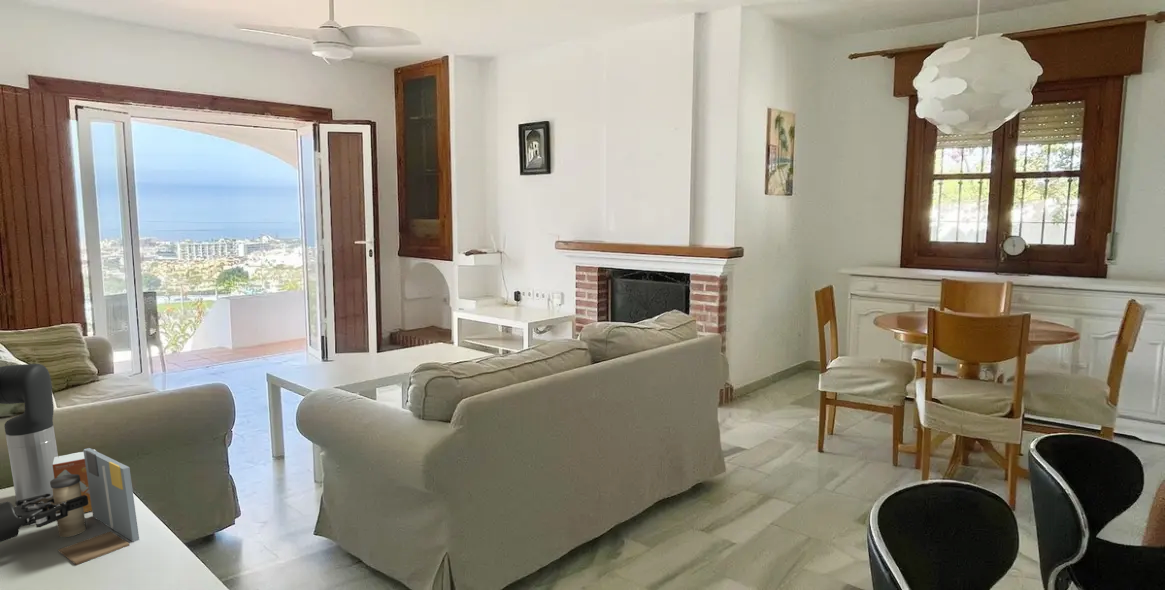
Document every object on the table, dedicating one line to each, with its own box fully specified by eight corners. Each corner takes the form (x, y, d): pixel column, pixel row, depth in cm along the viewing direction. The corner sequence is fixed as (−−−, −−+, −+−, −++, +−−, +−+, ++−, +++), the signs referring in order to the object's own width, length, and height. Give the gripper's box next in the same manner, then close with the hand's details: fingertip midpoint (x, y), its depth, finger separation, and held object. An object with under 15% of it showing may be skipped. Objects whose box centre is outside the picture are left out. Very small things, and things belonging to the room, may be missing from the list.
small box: (59, 519, 160) (51, 464, 159) (61, 509, 166) (53, 456, 164) (102, 509, 165) (94, 456, 163) (102, 500, 170) (95, 448, 168)
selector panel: (91, 517, 161) (81, 448, 159) (98, 514, 162) (89, 446, 160) (131, 542, 148) (121, 468, 145) (139, 539, 149) (129, 465, 147)
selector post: (54, 533, 153) (46, 480, 152) (82, 524, 157) (74, 472, 156) (63, 539, 150) (54, 485, 148) (91, 530, 154) (83, 477, 153)
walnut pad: (58, 551, 145) (58, 549, 145) (110, 532, 152) (110, 531, 152) (76, 565, 139) (76, 563, 139) (129, 545, 146) (129, 543, 146)
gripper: (-8, 518, 137) (92, 487, 150) (-29, 501, 145) (68, 473, 159) (-2, 554, 138) (97, 520, 151) (-23, 535, 146) (73, 505, 160)
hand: (82, 496), depth 155 cm, fingers closed on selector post, 4 cm apart
